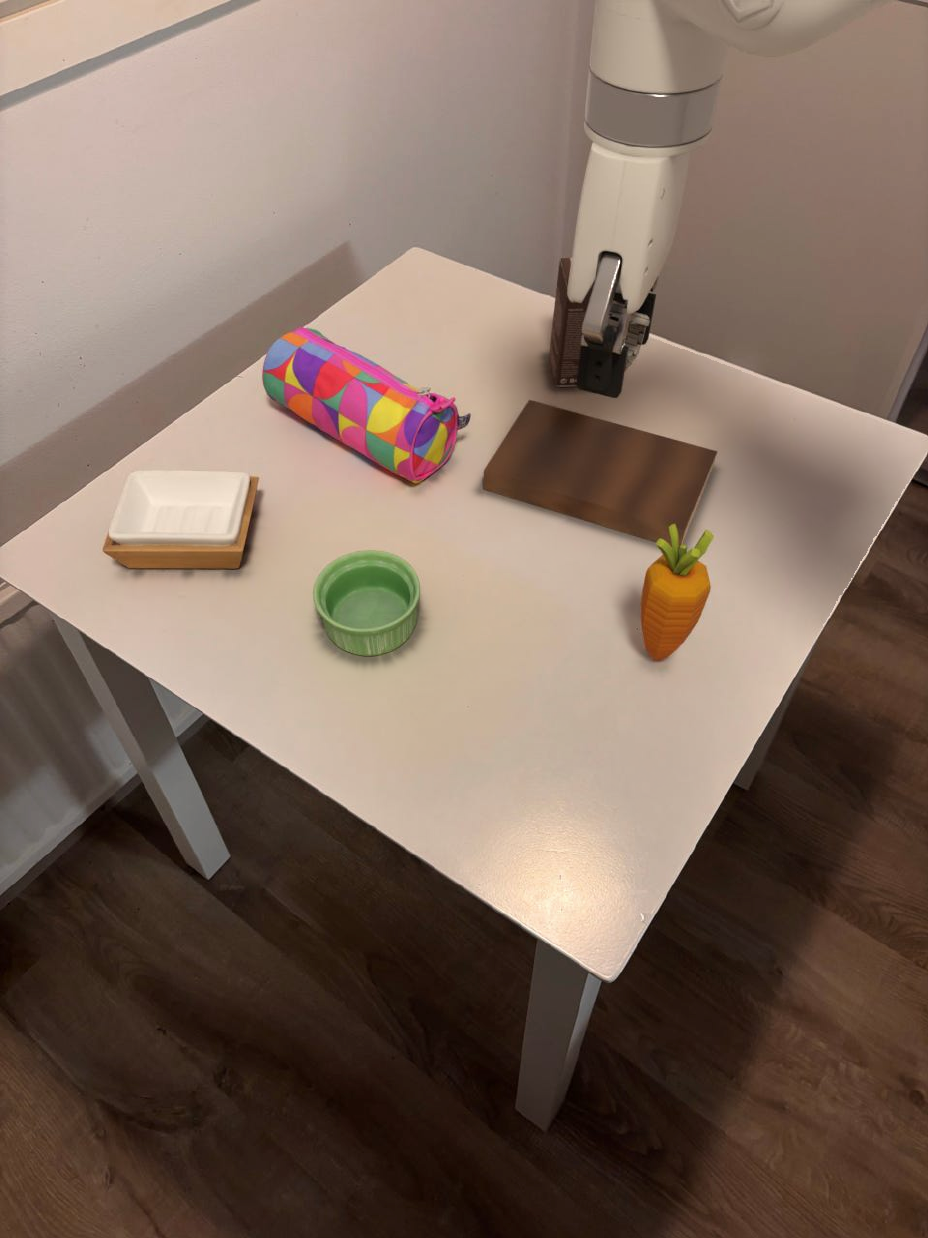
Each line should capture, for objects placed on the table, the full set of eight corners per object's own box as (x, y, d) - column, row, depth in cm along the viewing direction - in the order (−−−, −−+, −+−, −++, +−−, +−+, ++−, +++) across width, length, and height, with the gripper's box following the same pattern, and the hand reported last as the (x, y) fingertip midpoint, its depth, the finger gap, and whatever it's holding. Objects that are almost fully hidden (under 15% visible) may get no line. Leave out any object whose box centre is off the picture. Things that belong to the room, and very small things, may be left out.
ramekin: (355, 569, 82) (350, 536, 79) (441, 605, 80) (439, 572, 76) (299, 637, 77) (291, 605, 74) (388, 678, 75) (384, 646, 71)
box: (594, 386, 99) (608, 286, 90) (554, 388, 99) (563, 288, 89) (586, 353, 103) (599, 255, 93) (547, 355, 103) (556, 256, 93)
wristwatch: (651, 356, 67) (662, 296, 64) (612, 399, 64) (621, 338, 60) (610, 341, 69) (618, 281, 65) (570, 382, 66) (576, 322, 62)
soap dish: (114, 578, 82) (96, 540, 78) (139, 503, 88) (123, 464, 84) (251, 578, 82) (240, 540, 78) (266, 503, 88) (256, 464, 84)
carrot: (620, 671, 75) (648, 548, 63) (635, 628, 78) (665, 503, 66) (678, 690, 74) (717, 568, 62) (692, 645, 77) (732, 520, 65)
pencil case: (476, 451, 92) (477, 378, 85) (420, 503, 88) (415, 430, 81) (320, 375, 101) (309, 302, 93) (260, 418, 96) (244, 345, 89)
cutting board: (712, 470, 90) (717, 450, 89) (679, 549, 84) (684, 530, 82) (527, 418, 96) (529, 399, 94) (483, 489, 89) (483, 470, 87)
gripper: (630, 41, 58) (599, 294, 72) (538, 154, 48) (523, 421, 62) (746, 58, 56) (691, 314, 70) (675, 179, 46) (628, 449, 60)
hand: (613, 362), depth 66 cm, fingers closed on wristwatch, 6 cm apart
